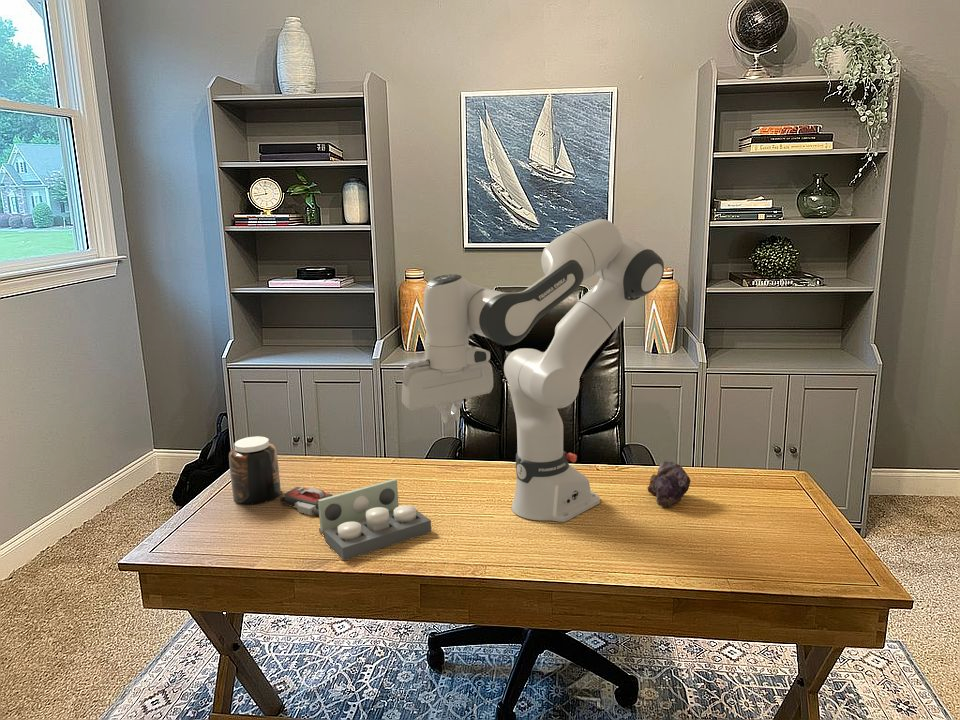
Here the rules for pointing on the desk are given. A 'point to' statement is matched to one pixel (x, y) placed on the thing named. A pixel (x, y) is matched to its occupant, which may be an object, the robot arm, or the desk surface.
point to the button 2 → (404, 513)
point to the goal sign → (356, 504)
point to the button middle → (377, 519)
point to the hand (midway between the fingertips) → (449, 421)
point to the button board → (377, 536)
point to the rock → (669, 484)
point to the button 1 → (349, 530)
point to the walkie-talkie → (305, 499)
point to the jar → (254, 471)
